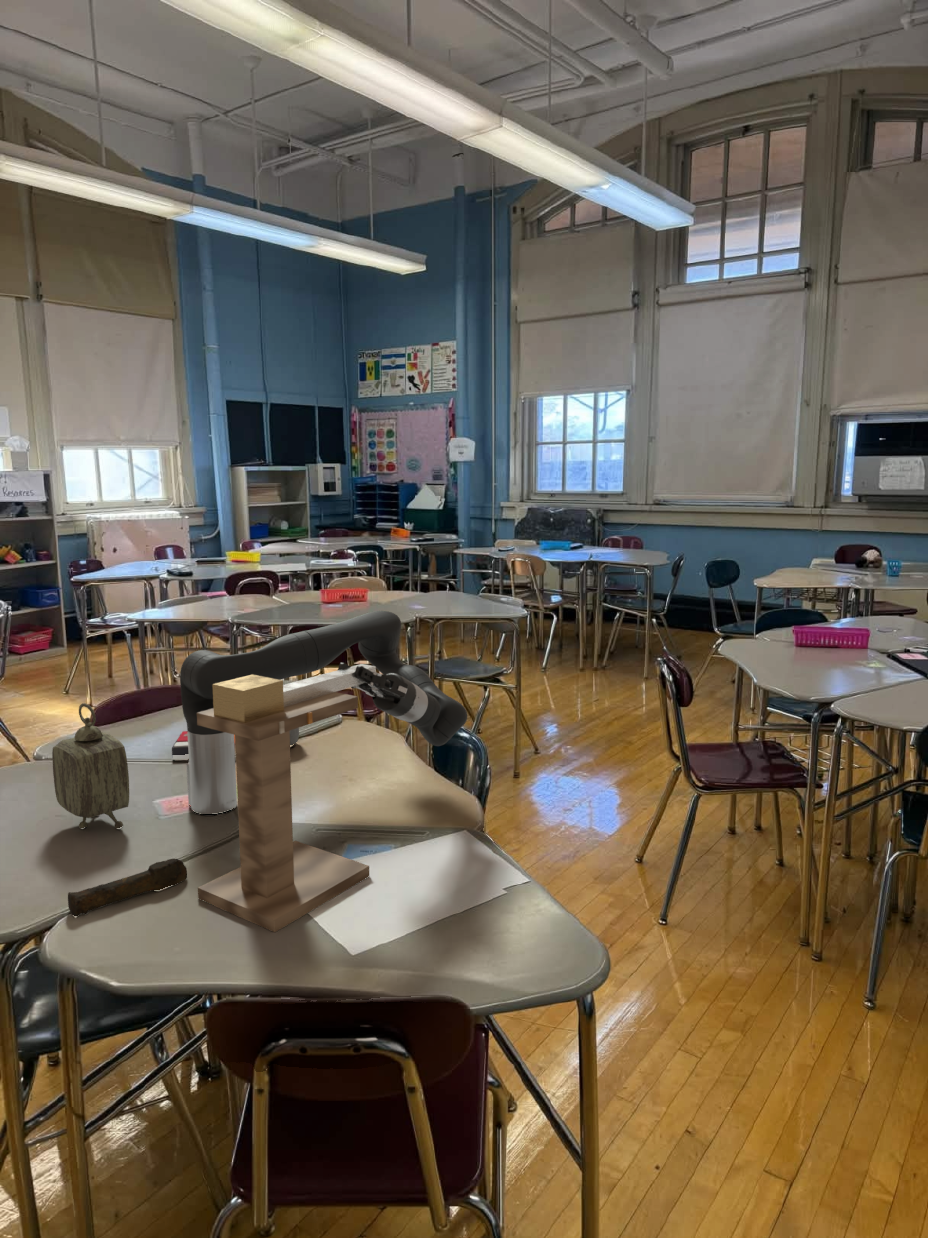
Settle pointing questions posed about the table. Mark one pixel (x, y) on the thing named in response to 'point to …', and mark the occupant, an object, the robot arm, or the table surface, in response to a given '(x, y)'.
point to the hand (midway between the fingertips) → (348, 669)
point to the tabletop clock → (91, 773)
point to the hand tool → (128, 886)
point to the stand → (276, 824)
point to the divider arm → (275, 693)
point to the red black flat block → (181, 745)
